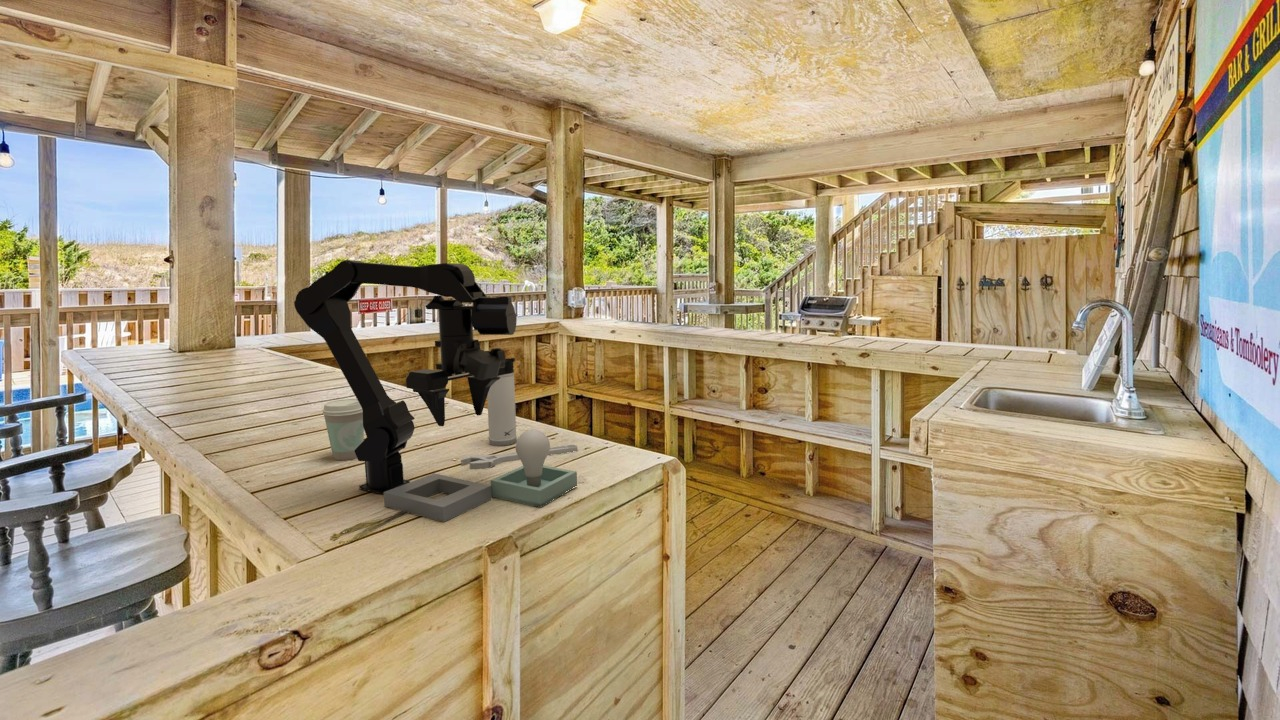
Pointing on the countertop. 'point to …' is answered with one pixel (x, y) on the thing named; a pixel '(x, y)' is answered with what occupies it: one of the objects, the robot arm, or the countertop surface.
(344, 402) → the coffee cup
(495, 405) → the travel mug
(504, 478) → the parts tray
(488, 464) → the adjustable wrench
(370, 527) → the tongs
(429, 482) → the socket board
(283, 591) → the countertop surface
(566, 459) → the countertop surface
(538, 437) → the lightbulb
